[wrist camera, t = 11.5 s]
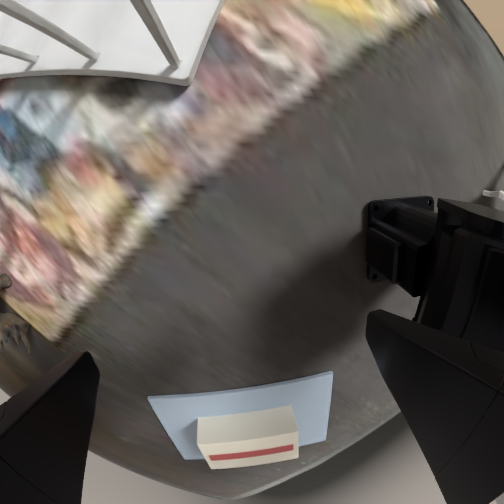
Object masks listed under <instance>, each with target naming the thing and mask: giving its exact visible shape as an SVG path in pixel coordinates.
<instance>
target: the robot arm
mask: <svg viewBox="0 0 504 504" xmlns="http://www.w3.org/2000/svg"><path fill="white" fill-rule="evenodd" d="M428 201H429V204H428ZM375 205H376V206H377V207H376V209H375V210H374V209H373V208H374V206H375ZM437 207H438V213H436V212H434V200H433V198H432V197H430V196H419V197H406V198H395V199H384V200H374V201H371V202H370V203H369V205H368V230H367V245H366V262H367V263H368V268H367V278H368V279H369V280H370V281H371V282H377V281H381V280H386V279H388V280H389V281H390V282H392V283H393V284H398V285H399V286H400V287H402V288H403V289H404V290H405V291H406V292H408V293H409V294H410V295H411V296H412V297H417V296H421V297H420V300H419V304H418V307H417V311H416V314H415V317H414V318H413V319H412V321H411V320H408V319H406V318H403V317H400V316H397V315H395V314H392V313H389V312H387V311H384V310H381V309H379V310H375V311H371V312H369V313H368V316H367V325H366V340H367V342H368V344H369V347H370V349H371V351H372V354H373V356H374V358H375V361H376V363H377V366H378V368H379V370H380V373H381V375H382V377H383V379H384V381H385V383H386V384H387V386H388V388H389V390H390V392H391V393H392V395H393V397H394V399H395V401H396V402H397V404H398V406H399V408H400V410H401V412H402V413H403V415H404V417H405V419H406V421H407V423H408V425H409V427H410V429H411V430H412V432H413V434H414V436H415V438H416V440H417V442H418V444H419V446H420V448H421V450H422V452H423V454H424V456H425V458H426V460H427V462H428V464H429V466H430V468H431V470H432V472H433V474H434V476H435V479H436V481H437V483H438V485H439V488H440V489H441V492H442V494H443V496H444V499H445V501H446V503H447V504H489V503H490V502H492V501H493V500H495V501H496V502H497V504H504V212H503V211H500V210H497V209H494V208H490V207H487V206H484V205H480V204H475V203H468V202H462V201H456V200H449V199H442V198H438V203H437ZM373 274H375V276H374V277H372V275H373ZM99 378H100V373H99V369H98V367H97V366H96V364H95V362H94V360H93V358H92V356H91V354H90V353H89V352H88V351H77V352H76V353H74V354H73V355H71V356H70V357H68V358H67V359H65V360H64V361H62V362H61V363H60V364H58V365H57V366H55V367H54V368H52V369H51V370H50V371H48V372H47V373H45V374H44V375H42V376H41V377H40V378H38V379H37V380H35V381H34V382H32V383H31V384H30V385H28V386H27V387H25V388H24V389H23V390H21V391H20V392H18V393H17V394H16V395H14V396H13V397H11V398H10V399H9V400H8V401H7V402H4V403H3V404H2V405H0V504H81V498H82V488H83V480H84V472H85V465H86V458H87V452H88V446H89V441H90V436H91V430H92V425H93V421H94V415H95V409H96V400H97V392H98V385H99Z"/></svg>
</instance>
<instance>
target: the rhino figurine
mask: <svg viewBox="0 0 504 504" xmlns="http://www.w3.org/2000/svg"><path fill="white" fill-rule="evenodd" d="M11 285H12V281H11V279H10V277H9V276H8V275H6V274H1V276H0V290H1V288H2V287H5V288H9V286H11ZM28 329H29V324H28V323H27V322H26V321H24V320H22V319H21V318H19V317H17V316H16V315H14V314H13V313H1V310H0V352H1V351H2V350H3V343H2V341H4V342H5V344H7V338H8V337H13V338H14V339H15V341H16V343H17V344H18V345H19V342H20V339H22V341H23V342H24V344H25V345H26V347H27V350H28V353H30V351H31V345H30V340H29V337H28Z"/></svg>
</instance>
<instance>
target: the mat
mask: <svg viewBox="0 0 504 504" xmlns="http://www.w3.org/2000/svg"><path fill="white" fill-rule="evenodd" d="M332 381H333V372H332V371H328V372H324V373H320V374H316V375H311V376H307V377H302V378H297V379H293V380H288V381H282V382H277V383H271V384H266V385H260V386H253V387H247V388H239V389H232V390H224V391H215V392H205V393H193V394H179V395H158V396H148V398H147V399H148V401H149V403H150V404H151V406H152V408H153V410H154V412H155V413H156V415H157V417H158V418H159V420H160V422H161V423H162V425H163V427H164V428H165V430H166V432H167V433H168V435H169V437H170V438H171V440H172V441H173V443H174V444H175V446H176V447H177V449H178V450H179V452H180V453H181V455H182V456H183V458H184V459H205V458H204V456H203V454H202V453H201V451H200V449H199V447H198V445H197V426H198V418H200V417H212V416H223V415H232V414H240V413H247V412H254V411H261V410H267V409H273V408H278V407H284V406H289V405H291V407H292V411H293V414H294V418H295V421H296V425H297V428H298V447H299V446H303V445H308V444H312V443H316V442H320V441H324V440H326V434H327V427H328V419H329V411H330V402H331V392H332Z"/></svg>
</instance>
